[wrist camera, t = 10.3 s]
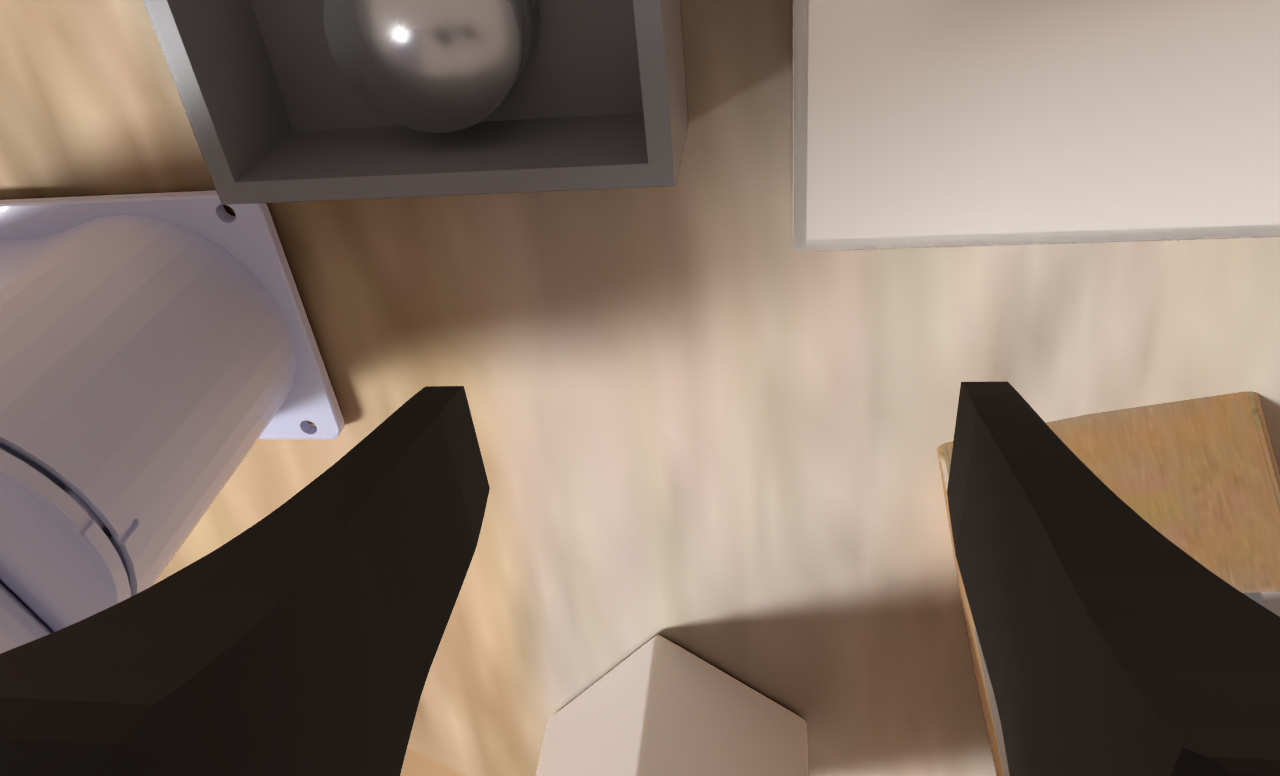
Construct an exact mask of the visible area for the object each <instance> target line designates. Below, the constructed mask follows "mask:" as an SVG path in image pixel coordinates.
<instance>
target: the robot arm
mask: <svg viewBox="0 0 1280 776" xmlns="http://www.w3.org/2000/svg"><path fill="white" fill-rule="evenodd" d="M228 206H229V207H231V208H232V209H233V211H234V212H235V214H236V216H231V215H230V214H229V213H227V212H226V210H225V209H224V207H223V205H222V204H221V202H220V199H219V196H218V194H217V191H216V190H214V191H191V192H168V193H146V194H123V195H101V196H78V197H55V198H33V199H10V200H0V776H400V773H401V768H402V765H403V761H404V756H405V753H406V749H407V745H408V741H409V738H410V734H411V730H412V726H413V722H414V719H415V715H416V711H417V707H418V704H419V700H420V696H421V693H422V690H423V687H424V684H425V681H426V678H427V675H428V672H429V669H430V667H431V664H432V662H433V659H434V657H435V654H436V651H437V649H438V646H439V644H440V641H441V638H442V636H443V633H444V631H445V628H446V625H447V623H448V620H449V618H450V615H451V613H452V610H453V607H454V605H455V602H456V600H457V597H458V594H459V592H460V589H461V587H462V584H463V581H464V579H465V576H466V573H467V571H468V568H469V565H470V563H471V560H472V557H473V554H474V552H475V549H476V546H477V542H478V538H479V534H480V530H481V526H482V522H483V517H484V512H485V508H486V503H487V498H488V494H489V489H490V488H489V484H488V480H487V476H486V472H485V468H484V464H483V460H482V456H481V453H480V449H479V445H478V441H477V437H476V433H475V429H474V425H473V421H472V417H471V413H470V409H469V405H468V401H467V397H466V393H465V390H464V386H440V387H424V388H423V389H422V390H420V391H419V392H418V393H417V394H415V395H414V396H413V397H412V398H410V399H409V400H408V401H407V402H406V403H405V404H403V405H402V406H401V407H400V408H399V409H398V410H396V411H395V412H394V413H393V414H392V415H391V416H390V417H388V418H387V419H386V420H385V421H384V422H383V423H382V424H380V425H379V426H378V427H377V428H376V429H375V430H374V431H373V432H371V433H370V434H369V435H368V436H367V437H366V438H364V439H363V440H362V441H361V442H360V443H359V444H357V445H356V446H355V447H354V448H353V449H352V450H350V451H349V452H348V453H347V454H346V455H345V456H343V457H342V458H341V459H340V460H339V461H338V462H336V463H335V464H334V465H333V466H332V467H330V468H329V469H328V470H326V471H325V472H324V473H323V474H321V475H320V476H319V477H318V478H316V479H315V480H314V481H312V482H311V483H310V484H309V485H307V486H306V487H305V488H303V489H302V490H301V491H300V492H298V493H297V494H296V495H295V496H293V497H292V498H291V499H289V500H288V501H287V502H286V503H284V504H283V505H282V506H280V507H279V508H278V509H276V510H275V511H273V512H272V513H271V514H269V515H268V516H266V517H265V518H264V519H262V520H261V521H259V522H258V523H256V524H255V525H253V526H252V527H250V528H249V529H247V530H246V531H244V532H243V533H241V534H240V535H238V536H237V537H235V538H234V539H232V540H230V541H229V542H227V543H226V544H224V545H223V546H221V547H220V548H218V549H216V550H215V551H213V552H211V553H210V554H208V555H206V556H205V557H203V558H201V559H199V560H197V561H196V562H194V563H192V564H190V565H189V566H187V567H185V568H183V569H181V570H180V571H178V572H176V573H174V574H173V575H171V576H169V577H167V578H166V579H164V580H162V581H160V582H158V583H157V584H155V585H153V584H154V583H155V582H156V580H157V579H158V577H159V576H160V575H161V573H162V572H163V570H164V569H165V568H166V566H167V565H168V563H169V562H170V561H171V559H172V558H173V556H174V555H175V554H176V552H177V551H178V550H179V548H180V547H181V545H182V544H183V543H184V541H185V540H186V538H187V537H188V536H189V534H190V533H191V531H192V530H193V529H194V527H195V526H196V524H197V523H198V522H199V520H200V519H201V517H202V516H203V515H204V513H205V512H206V511H207V509H208V508H209V506H210V505H211V504H212V502H213V501H214V499H215V498H216V497H217V495H218V494H219V492H220V491H221V490H222V488H223V487H224V485H225V484H226V483H227V481H228V480H229V478H230V477H231V476H232V474H233V473H234V471H235V470H236V469H237V467H238V466H239V465H240V463H241V462H242V460H243V459H244V458H245V456H246V455H247V453H248V452H249V451H250V449H251V448H252V446H253V445H254V444H255V442H256V441H257V439H334V438H336V437H338V436H339V435H340V433H341V431H342V430H343V428H344V419H343V416H342V413H341V411H340V408H339V405H338V402H337V399H336V397H335V394H334V391H333V388H332V385H331V383H330V380H329V377H328V374H327V371H326V369H325V366H324V363H323V360H322V357H321V355H320V352H319V349H318V346H317V343H316V340H315V338H314V335H313V332H312V329H311V326H310V324H309V321H308V318H307V315H306V312H305V310H304V307H303V304H302V301H301V298H300V296H299V293H298V290H297V287H296V284H295V282H294V279H293V276H292V273H291V270H290V268H289V265H288V262H287V259H286V256H285V253H284V251H283V248H282V245H281V242H280V239H279V237H278V234H277V231H276V228H275V225H274V223H273V220H272V217H271V214H270V211H269V209H268V206H267V204H266V203H253V204H229V205H228ZM307 421H310V422H312V423H314V424H315V426H313V425H311V424H309V423H308V422H307ZM947 498H948V505H949V513H950V520H951V528H952V535H953V541H954V548H955V555H956V559H957V562H958V566H959V570H960V574H961V577H962V581H963V585H964V588H965V592H966V596H967V599H968V603H969V606H970V610H971V614H972V617H973V621H974V624H975V628H976V631H977V635H978V638H979V642H980V646H981V649H982V653H983V656H984V660H985V663H986V667H987V671H988V674H989V678H990V681H991V685H992V688H993V692H994V696H995V700H996V705H997V709H998V713H999V718H1000V722H1001V727H1002V733H1003V739H1004V745H1005V751H1006V757H1007V763H1008V769H1009V775H1010V776H1280V617H1279V616H1278V615H1276V614H1274V613H1273V612H1271V611H1270V610H1268V609H1267V608H1265V607H1263V606H1262V605H1260V604H1259V603H1257V602H1256V601H1254V600H1253V599H1251V598H1249V597H1248V596H1246V595H1245V594H1243V593H1242V592H1240V591H1238V590H1237V589H1236V588H1234V587H1233V586H1231V585H1230V584H1228V583H1227V582H1225V581H1224V580H1222V579H1221V578H1220V577H1218V576H1217V575H1215V574H1214V573H1212V572H1211V571H1210V570H1208V569H1207V568H1206V567H1204V566H1203V565H1202V564H1200V563H1199V562H1198V561H1196V560H1195V559H1194V558H1192V557H1191V556H1190V555H1188V554H1187V553H1186V552H1184V551H1183V550H1182V549H1180V548H1179V547H1178V546H1176V545H1175V544H1174V543H1172V542H1171V541H1170V540H1168V539H1167V538H1166V537H1165V536H1163V535H1162V534H1161V533H1160V532H1158V531H1157V530H1156V529H1155V528H1153V527H1152V526H1151V525H1150V524H1149V523H1147V522H1146V521H1145V520H1144V519H1143V518H1142V517H1141V516H1139V515H1138V514H1137V513H1136V512H1135V511H1134V510H1133V509H1131V508H1130V507H1129V506H1128V505H1127V504H1126V503H1125V502H1123V501H1122V500H1121V499H1120V498H1119V497H1118V496H1117V495H1116V494H1115V493H1114V492H1113V491H1111V490H1110V489H1109V488H1108V487H1107V486H1106V485H1105V484H1104V483H1103V482H1102V481H1101V480H1100V479H1099V478H1098V477H1097V476H1096V475H1095V474H1094V473H1093V472H1092V471H1091V470H1090V469H1089V468H1088V467H1087V466H1086V465H1085V464H1084V463H1083V462H1082V461H1081V460H1080V459H1079V458H1078V457H1077V456H1076V455H1075V454H1074V453H1073V452H1072V451H1071V450H1070V449H1069V448H1068V447H1067V446H1066V445H1065V444H1064V443H1063V441H1062V440H1061V439H1060V438H1059V437H1058V436H1057V435H1056V434H1055V433H1054V432H1053V431H1052V430H1051V429H1050V427H1049V426H1048V425H1047V424H1046V423H1045V422H1044V421H1043V420H1042V419H1041V418H1040V416H1039V415H1038V414H1037V413H1036V412H1035V411H1034V410H1033V409H1032V408H1031V406H1030V405H1029V404H1028V403H1027V402H1026V401H1025V400H1024V399H1023V398H1022V396H1021V395H1020V394H1019V393H1018V392H1017V391H1016V390H1015V389H1014V388H1013V387H1012V386H1011V385H1010V384H1009V383H1008V382H961V388H960V396H959V403H958V411H957V419H956V426H955V434H954V442H953V449H952V457H951V464H950V472H949V480H948V487H947Z"/></svg>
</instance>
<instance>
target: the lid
mask: <svg viewBox="0 0 1280 776" xmlns="http://www.w3.org/2000/svg"><path fill="white" fill-rule="evenodd" d="M792 227H793V252H796V251H830V250H863V249H896V248H929V247H962V246H996V245H1029V244H1062V243H1095V242H1128V241H1162V240H1195V239H1228V238H1261V237H1280V0H793V104H792Z"/></svg>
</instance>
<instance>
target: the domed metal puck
mask: <svg viewBox="0 0 1280 776" xmlns="http://www.w3.org/2000/svg"><path fill="white" fill-rule="evenodd" d="M323 13H324V26H325V33H326V37H327V41H328V45H329V48H330V51H331V53H332V56H333V58H334V61H335V63H336V65H337V67H338V68H339V70H340V72H341V74H342V75H343V77H344V78H345V80H346V81H347V83H348V84H349V86H350V87H351V88H352V89H353V90H354V91H355V93H356V94H357V95H358V96H359V97H360V98H361V99H362V100H363V101H364V102H365V103H366V104H367V105H368V106H370V107H371V108H372V109H374V110H375V111H376V112H377V113H379V114H381V115H382V116H384V117H385V118H387V119H389V120H391V121H393V122H395V123H397V124H399V125H401V126H404V127H407V128H410V129H413V130H418V131H422V132H431V133H447V132H453V131H459V130H462V129H465V128H468V127H471V126H473V125H475V124H477V123H479V122H481V121H482V120H483V119H485V118H486V117H488V116H489V115H490V114H491V113H492V112H493V111H494V110H495V109H496V108H497V107H498V106H499V105H500V103H501V102H502V101H503V100H504V98H505V97H506V95H507V94H508V93H509V91H510V90H511V88H512V87H513V85H514V84H515V83H516V81H517V80H518V78H519V77H520V75H521V74H522V73H523V71H524V70H525V68H526V67H527V65H528V63H529V61H530V60H531V58H532V55H533V52H534V50H535V47H536V43H537V39H538V33H539V6H538V0H324V7H323Z"/></svg>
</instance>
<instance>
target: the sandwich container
mask: <svg viewBox="0 0 1280 776" xmlns="http://www.w3.org/2000/svg"><path fill="white" fill-rule="evenodd" d="M1046 424H1047V425H1048V426H1049V427H1050V429H1051V430H1052V431H1053V432H1054V433H1055V434H1056V435H1057V436H1058V437H1059V438H1060V439H1061V440H1062V441H1063V443H1064V444H1065V445H1066V446H1067V447H1068V448H1069V449H1070V450H1071V451H1072V452H1073V453H1074V454H1075V455H1076V456H1077V457H1078V458H1079V459H1080V460H1081V461H1082V462H1083V463H1084V464H1085V465H1086V466H1087V467H1088V468H1089V469H1090V470H1091V471H1092V472H1093V473H1094V474H1095V475H1096V476H1097V477H1098V478H1099V479H1100V480H1101V481H1102V482H1103V483H1104V484H1105V485H1106V486H1107V487H1108V488H1109V489H1110V490H1111V491H1113V492H1114V493H1115V494H1116V495H1117V496H1118V497H1119V498H1120V499H1121V500H1122V501H1123V502H1125V503H1126V504H1127V505H1128V506H1129V507H1130V508H1131V509H1133V510H1134V511H1135V512H1136V513H1137V514H1138V515H1139V516H1141V517H1142V518H1143V519H1144V520H1145V521H1146V522H1147V523H1149V524H1150V525H1151V526H1152V527H1153V528H1155V529H1156V530H1157V531H1158V532H1160V533H1161V534H1162V535H1163V536H1165V537H1166V538H1167V539H1168V540H1170V541H1171V542H1172V543H1174V544H1175V545H1176V546H1178V547H1179V548H1180V549H1182V550H1183V551H1184V552H1186V553H1187V554H1188V555H1190V556H1191V557H1192V558H1194V559H1195V560H1196V561H1198V562H1199V563H1200V564H1202V565H1203V566H1204V567H1206V568H1207V569H1208V570H1210V571H1211V572H1212V573H1214V574H1215V575H1217V576H1218V577H1220V578H1221V579H1222V580H1224V581H1225V582H1227V583H1228V584H1230V585H1231V586H1233V587H1234V588H1236V589H1237V590H1238V591H1240V592H1242V593H1243V594H1245V595H1246V596H1248V597H1249V598H1251V599H1253V600H1254V601H1256V602H1257V603H1259V604H1260V605H1262V606H1263V607H1265V608H1267V609H1268V610H1270V611H1271V612H1273V613H1274V614H1276V615H1278V616H1279V617H1280V476H1279V472H1278V468H1277V464H1276V460H1275V457H1274V453H1273V449H1272V445H1271V441H1270V437H1269V434H1268V430H1267V426H1266V422H1265V418H1264V414H1263V410H1262V407H1261V403H1260V399H1259V395H1258V394H1257V393H1256V392H1239V393H1233V394H1226V395H1219V396H1212V397H1205V398H1198V399H1191V400H1184V401H1178V402H1171V403H1164V404H1157V405H1150V406H1143V407H1136V408H1129V409H1123V410H1116V411H1109V412H1102V413H1095V414H1088V415H1083V416H1079V417H1073V418H1068V419H1063V420H1058V421H1053V422H1048V423H1046ZM953 442H954V441H953ZM953 442H948V443H945V444H942V445H940V446H939V447H938V448H937V452H938V458H939V464H940V470H941V477H942V483H943V489H944V495H945V502H946V508H947V514H948V521H949V527H950V533H951V539H952V546H953V552H954V558H955V565H956V571H957V577H958V583H959V590H960V596H961V602H962V607H963V610H964V614H965V623H966V629H967V634H968V639H969V644H970V649H971V654H972V658H973V665H974V671H975V675H976V680H977V685H978V689H979V694H980V699H981V704H982V708H983V713H984V718H985V722H986V727H987V732H988V737H989V741H990V746H991V751H992V755H993V760H994V765H995V770H996V774H997V776H1010V775H1009V769H1008V763H1007V757H1006V751H1005V745H1004V739H1003V733H1002V727H1001V722H1000V718H999V713H998V709H997V705H996V700H995V696H994V692H993V688H992V685H991V681H990V678H989V674H988V671H987V667H986V663H985V660H984V656H983V653H982V649H981V646H980V642H979V638H978V635H977V631H976V628H975V624H974V621H973V617H972V614H971V610H970V606H969V603H968V599H967V596H966V592H965V588H964V585H963V581H962V577H961V574H960V570H959V566H958V562H957V559H956V555H955V548H954V541H953V535H952V528H951V520H950V513H949V505H948V498H947V487H948V480H949V472H950V464H951V457H952V449H953Z"/></svg>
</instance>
